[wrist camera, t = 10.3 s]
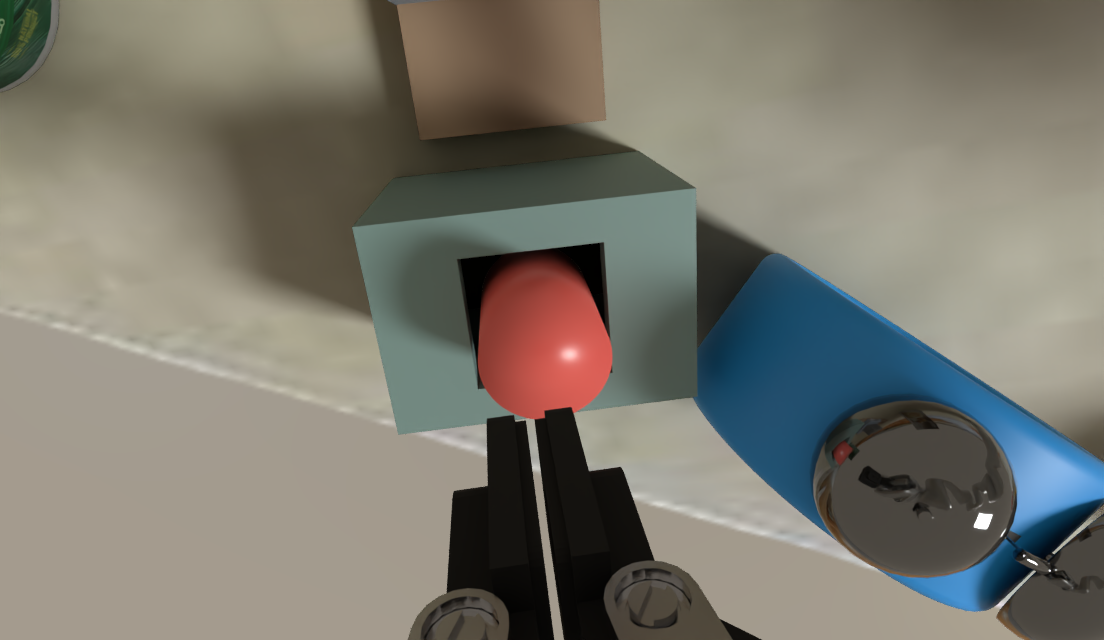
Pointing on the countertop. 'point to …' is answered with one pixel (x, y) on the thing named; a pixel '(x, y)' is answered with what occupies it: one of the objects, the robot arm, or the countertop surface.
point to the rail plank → (502, 64)
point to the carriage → (408, 1)
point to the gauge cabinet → (516, 226)
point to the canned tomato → (25, 38)
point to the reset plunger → (541, 335)
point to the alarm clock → (906, 455)
